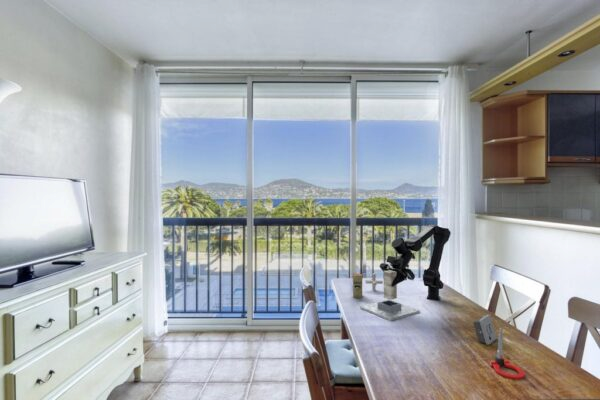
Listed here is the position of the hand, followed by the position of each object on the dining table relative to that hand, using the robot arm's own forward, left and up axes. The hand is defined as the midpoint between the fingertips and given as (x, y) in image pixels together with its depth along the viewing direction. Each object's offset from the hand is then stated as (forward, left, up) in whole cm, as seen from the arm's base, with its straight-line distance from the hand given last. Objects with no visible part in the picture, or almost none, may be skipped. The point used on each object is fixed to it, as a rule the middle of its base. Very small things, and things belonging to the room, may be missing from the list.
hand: (388, 285), depth 166 cm
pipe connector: (-31, -16, -13) cm, 37 cm away
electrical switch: (+16, +41, -13) cm, 46 cm away
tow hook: (+39, +47, -13) cm, 63 cm away
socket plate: (-1, 0, -13) cm, 13 cm away
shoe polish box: (-16, -21, -13) cm, 29 cm away
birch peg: (-1, +1, -7) cm, 7 cm away
